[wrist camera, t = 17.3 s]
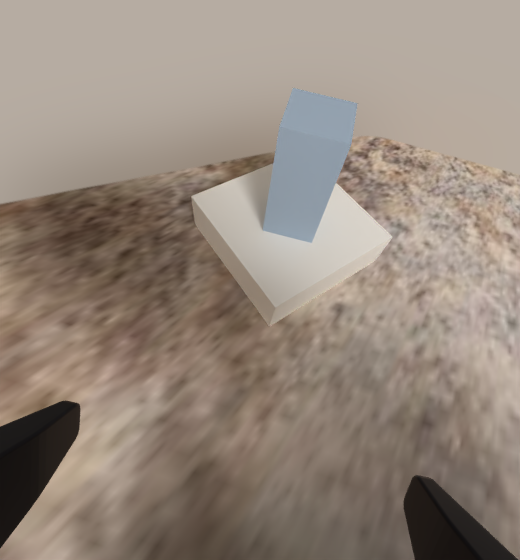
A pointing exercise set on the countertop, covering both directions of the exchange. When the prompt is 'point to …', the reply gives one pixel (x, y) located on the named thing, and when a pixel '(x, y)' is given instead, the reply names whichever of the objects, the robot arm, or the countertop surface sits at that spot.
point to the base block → (284, 244)
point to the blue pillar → (307, 162)
